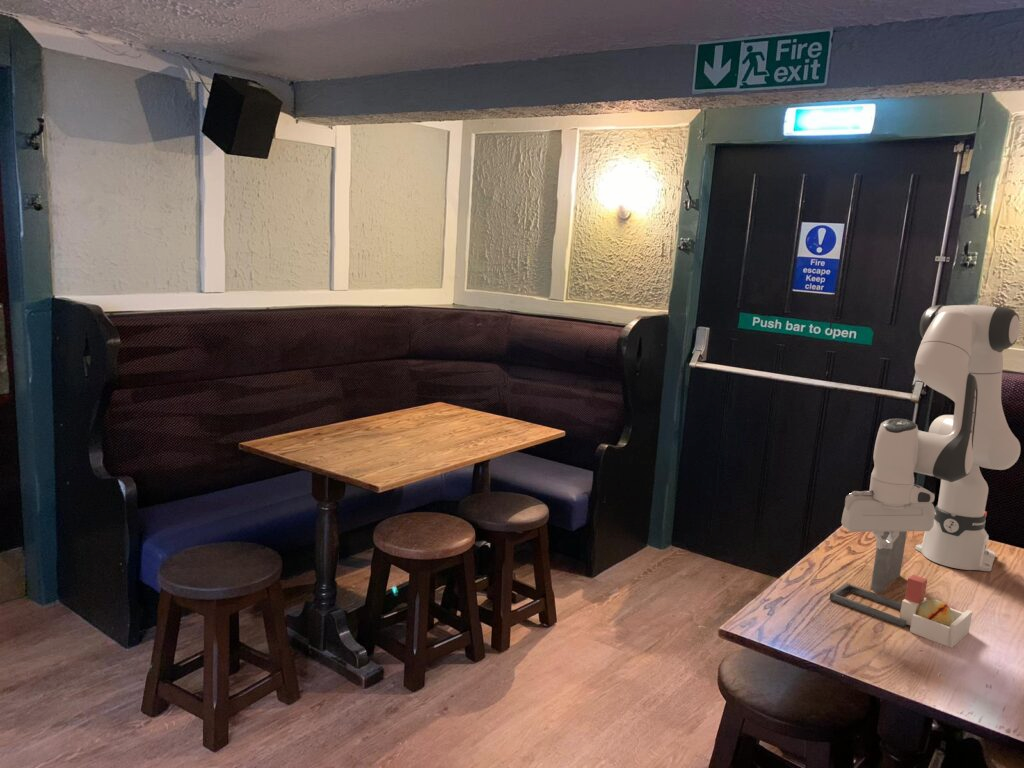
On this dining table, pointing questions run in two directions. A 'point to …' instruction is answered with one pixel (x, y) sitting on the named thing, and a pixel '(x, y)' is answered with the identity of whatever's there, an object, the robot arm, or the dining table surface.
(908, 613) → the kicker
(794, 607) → the dining table surface
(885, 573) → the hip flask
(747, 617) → the dining table surface
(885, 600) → the dark grey rectangular frame
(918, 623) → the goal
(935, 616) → the ball
